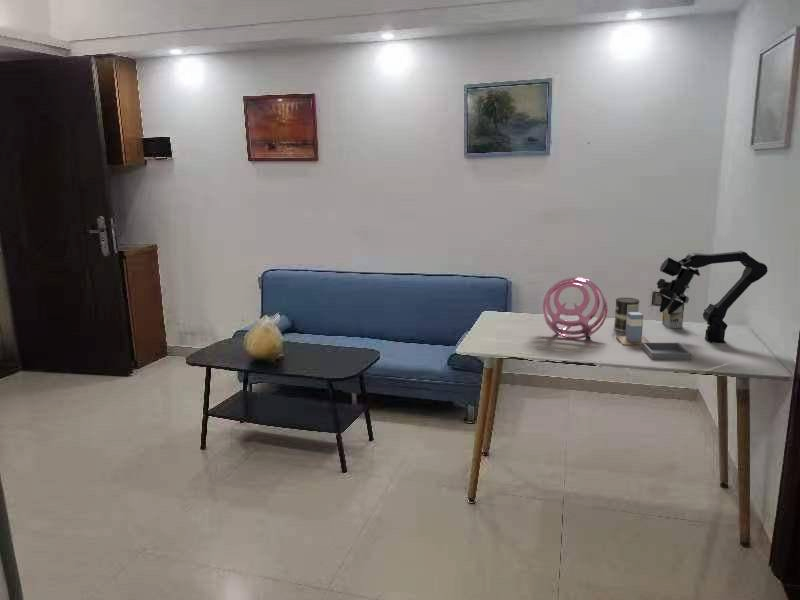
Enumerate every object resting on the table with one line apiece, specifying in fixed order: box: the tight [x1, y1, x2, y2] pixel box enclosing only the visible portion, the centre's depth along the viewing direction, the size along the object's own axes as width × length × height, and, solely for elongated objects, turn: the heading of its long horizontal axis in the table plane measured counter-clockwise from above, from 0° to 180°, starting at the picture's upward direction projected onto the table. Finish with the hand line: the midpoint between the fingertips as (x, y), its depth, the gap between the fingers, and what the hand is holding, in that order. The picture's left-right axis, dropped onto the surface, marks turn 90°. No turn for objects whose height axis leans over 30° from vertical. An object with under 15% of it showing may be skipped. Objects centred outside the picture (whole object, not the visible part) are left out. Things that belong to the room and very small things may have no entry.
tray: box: [641, 341, 692, 361], centre depth 236 cm, size 15×15×3 cm
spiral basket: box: [542, 277, 608, 340], centre depth 263 cm, size 28×28×27 cm
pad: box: [615, 335, 650, 347], centre depth 253 cm, size 12×12×1 cm
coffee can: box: [613, 297, 640, 333], centre depth 273 cm, size 10×10×14 cm
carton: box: [625, 311, 644, 342], centre depth 252 cm, size 5×5×12 cm
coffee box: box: [661, 302, 685, 329], centre depth 277 cm, size 9×6×16 cm
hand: (664, 313), depth 253 cm, fingers open, 9 cm apart
